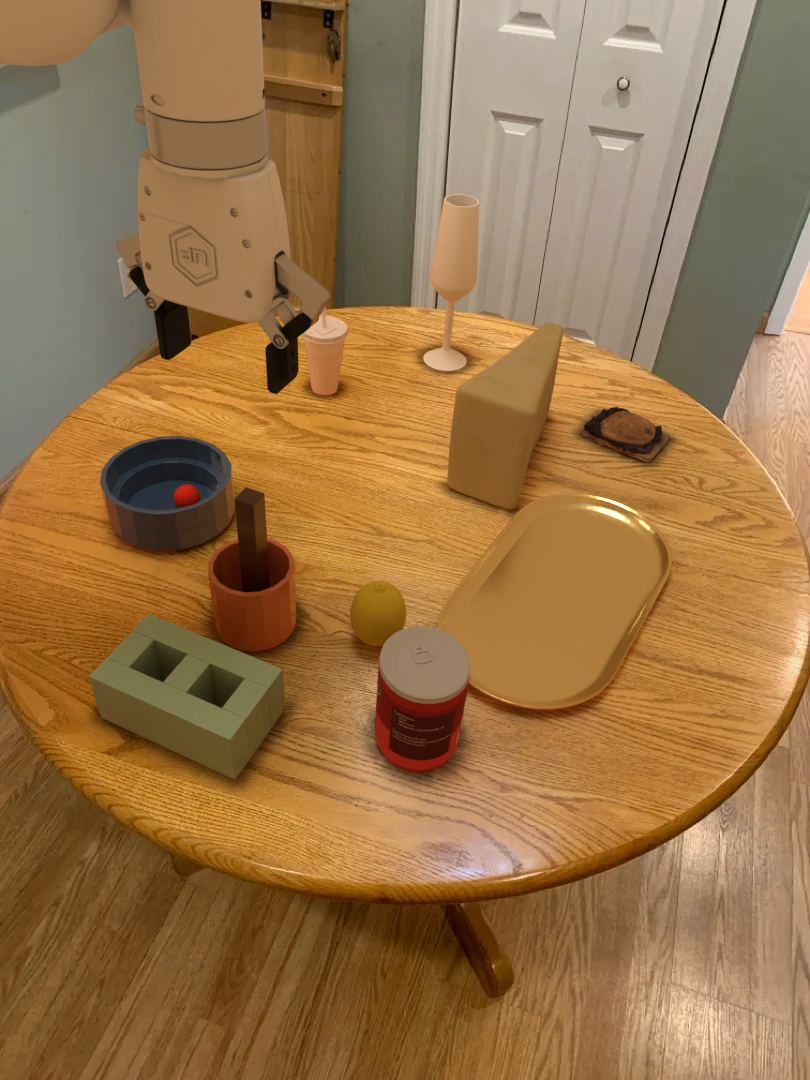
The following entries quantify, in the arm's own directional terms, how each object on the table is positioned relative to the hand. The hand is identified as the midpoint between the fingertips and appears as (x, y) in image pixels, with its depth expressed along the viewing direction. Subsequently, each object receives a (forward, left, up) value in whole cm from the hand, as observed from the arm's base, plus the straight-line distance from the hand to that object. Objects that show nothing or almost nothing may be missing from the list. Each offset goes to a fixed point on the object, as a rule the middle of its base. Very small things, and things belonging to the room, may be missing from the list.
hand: (228, 368), depth 66 cm
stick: (+1, +1, -30) cm, 30 cm away
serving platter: (+33, +1, -31) cm, 45 cm away
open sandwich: (+51, +30, -31) cm, 67 cm away
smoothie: (+11, +45, -31) cm, 56 cm away
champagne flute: (+30, +52, -31) cm, 68 cm away
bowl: (-9, +19, -30) cm, 37 cm away
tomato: (-7, +19, -28) cm, 35 cm away
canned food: (+14, -15, -31) cm, 37 cm away
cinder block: (-6, -10, -30) cm, 32 cm away
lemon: (+12, -3, -31) cm, 33 cm away
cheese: (+34, +27, -31) cm, 53 cm away
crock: (0, +1, -30) cm, 30 cm away
